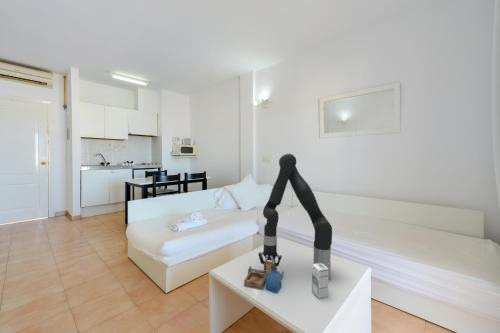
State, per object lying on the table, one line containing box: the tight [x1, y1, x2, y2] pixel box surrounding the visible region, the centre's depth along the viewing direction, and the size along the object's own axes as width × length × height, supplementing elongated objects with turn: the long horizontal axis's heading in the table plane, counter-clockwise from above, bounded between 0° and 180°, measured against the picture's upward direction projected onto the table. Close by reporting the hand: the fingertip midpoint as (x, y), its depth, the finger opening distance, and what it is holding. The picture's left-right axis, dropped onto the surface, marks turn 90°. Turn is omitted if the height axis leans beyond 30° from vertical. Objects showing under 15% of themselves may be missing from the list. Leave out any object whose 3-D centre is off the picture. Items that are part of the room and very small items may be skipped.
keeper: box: [243, 271, 267, 291], centre depth 113 cm, size 10×10×3 cm
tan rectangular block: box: [260, 260, 273, 275], centre depth 121 cm, size 8×4×6 cm, turn 72°
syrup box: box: [311, 263, 329, 299], centre depth 104 cm, size 6×6×14 cm
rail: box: [247, 265, 284, 281], centre depth 121 cm, size 20×4×2 cm, turn 72°
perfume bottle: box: [264, 264, 282, 294], centre depth 108 cm, size 6×6×12 cm
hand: (269, 271), depth 120 cm, fingers closed on tan rectangular block, 4 cm apart
